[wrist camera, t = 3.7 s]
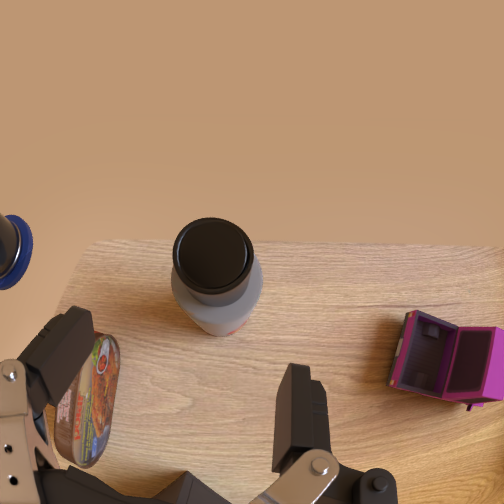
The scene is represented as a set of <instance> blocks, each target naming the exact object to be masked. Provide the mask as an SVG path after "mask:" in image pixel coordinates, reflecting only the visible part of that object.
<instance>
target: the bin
mask: <svg viewBox="0 0 504 504" xmlns="http://www.w3.org/2000/svg"><path fill="white" fill-rule="evenodd" d="M152 499H159V500H162V501H166V502H169V503H173V504H231V503H230V502H228V501H227V500H225V499H224V498H223V497H221V496H220V495H218V494H217V493H216V492H214V491H213V490H212V489H210V488H209V487H208V486H206V485H205V484H204V483H202V482H201V481H200V480H199V479H197V478H196V477H195V476H194V475H192V474H191V473H190V472H189V471H186V472H185V473H184V474H183V475H181V476H180V477H179V478H178V479H176V480H175V481H174V482H173V483H171V484H170V485H169V486H168V487H166V488H165V489H164V490H162V491H161V492H160V493H158V494H157V495H156V496H154V497H153V498H152Z"/></svg>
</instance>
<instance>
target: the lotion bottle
mask: <svg viewBox="0 0 504 504" xmlns="http://www.w3.org/2000/svg"><path fill="white" fill-rule="evenodd" d="M173 264H174V265H173V268H172V273H171V286H172V291H173V294H174V297H175V299H176V301H177V303H178V305H179V306H180V307H181V309H182V310H183V311H184V312H185V313H186V314H187V315H188V316H189V317H190V318H191V319H192V320H193V321H194V322H195V323H196V324H198V325H199V326H200V327H201V328H202V329H203V330H204V331H206V332H207V333H209V334H211V335H214V336H219V337H225V336H230V335H233V334H235V333H236V332H238V331H239V330H240V329H241V328H242V327H243V326H244V325H245V323H246V321H247V320H248V318H249V316H250V314H251V312H252V311H253V309H254V307H255V305H256V303H257V301H258V299H259V297H260V294H261V291H262V285H263V275H262V269H261V266H260V263H259V261H258V259H257V257H256V255H255V254H254V250H253V246H252V243H251V241H250V239H249V237H248V236H247V235H246V233H245V232H244V231H243V230H242V229H241V228H239V227H238V226H237V225H235V224H233V223H231V222H229V221H227V220H224V219H220V218H201V219H198V220H195V221H193V222H191V223H189V224H188V225H186V226H185V227H184V228H183V229H182V230H181V232H180V233H179V234H178V236H177V238H176V240H175V243H174V246H173Z"/></svg>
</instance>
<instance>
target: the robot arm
mask: <svg viewBox="0 0 504 504" xmlns="http://www.w3.org/2000/svg"><path fill="white" fill-rule="evenodd" d="M22 242H23V241H22V234H21V231H20V229H19V227H18V226H17V225H16V224H15V223H13V222H12V221H10V220H9V219H7V218H6V217H5V216H3V215H2V214H1V213H0V280H2V279H4V278H6V277H7V276H8V275H9V274H10V273H11V272H12V271H13V270H14V268H15V267H16V265H17V263H18V261H19V258H20V255H21V251H22ZM94 346H95V333H94V327H93V321H92V314H91V312H90V311H89V310H86V309H83V308H80V307H77V306H72V307H71V308H70V309H69V310H68V311H67V312H66V313H65V314H59V315H57V316H55V317H54V318H52V319H51V320H50V321H49V322H48V323H47V324H46V325H45V326H44V329H42V330H41V331H40V332H39V333H38V335H36V337H35V338H34V339H33V340H32V341H31V342H30V344H29V345H28V346H27V347H26V348H25V350H24V351H23V352H22V353H21V355H20V356H19V357H18V358H17V359H7V360H4V361H2V362H1V363H0V504H173V503H169V502H166V501H162V500H159V499H152V498H141V497H133V496H125V495H122V494H120V493H119V492H117V491H116V490H114V489H113V488H111V487H110V486H108V485H107V484H105V483H104V482H102V481H101V480H99V479H98V478H97V477H95V476H93V475H90V474H88V473H86V472H84V471H81V470H79V469H77V468H75V467H73V466H71V465H69V468H68V470H63V469H60V466H59V463H58V461H57V458H56V456H55V454H54V452H53V448H52V444H51V439H50V434H49V429H48V423H47V417H46V411H45V409H44V408H45V407H46V405H47V403H49V404H51V405H53V406H54V407H56V408H57V406H58V404H59V403H60V401H61V400H62V398H63V396H64V395H65V393H66V391H67V390H68V388H69V387H70V385H71V383H72V382H73V380H74V379H75V377H76V376H77V374H78V372H79V371H80V369H81V368H82V366H83V365H84V363H85V362H86V360H87V359H88V357H89V356H90V354H91V353H92V351H93V349H94ZM327 414H328V408H327V397H326V391H325V389H324V388H323V386H322V384H321V382H320V381H316V380H311V376H310V367H309V366H306V365H300V364H294V363H289V365H288V367H287V370H286V372H285V374H284V377H283V379H282V381H281V384H280V386H279V389H278V392H277V397H276V411H275V428H274V445H273V460H272V472H275V473H280V477H279V478H278V479H277V480H276V481H275V482H274V483H273V484H272V485H271V486H270V487H269V488H268V489H266V490H265V491H264V492H263V493H261V494H260V495H258V496H257V497H256V498H255V499H254V500H252V501H251V502H250V503H249V504H398V499H397V487H396V481H395V479H394V477H393V475H392V474H391V473H390V472H388V471H387V470H384V469H381V468H373V469H370V470H368V471H367V472H365V473H364V472H361V471H358V470H354V469H351V468H348V467H346V466H343V465H342V464H340V463H339V462H338V461H337V459H336V458H335V457H334V456H333V454H332V451H331V445H330V432H329V419H328V415H327Z"/></svg>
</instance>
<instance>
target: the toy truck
mask: <svg viewBox="0 0 504 504" xmlns="http://www.w3.org/2000/svg"><path fill="white" fill-rule="evenodd" d="M386 386H389V387H393V388H397V389H400V390H406V391H411V392H415V393H419V394H420V395H424V396H429V397H433V398H437V399H442V400H446V401H451V402H458V403H464V404H466V405H468V407H467V410H466V411H471V409H472V407H473V406H480V407H483V404H484V403H487V402H494V401H501V400H503V398H504V330H502V329H500V328H498V327H458V326H456V325H453V324H451V323H449V322H446V321H444V320H441V319H439V318H436V317H434V316H431V315H429V314H426V313H424V312H421V311H419V310H414V311H411V312H408V313H406V316H405V320H404V324H403V328H402V332H401V336H400V340H399V343H398V347H397V351H396V354H395V358H394V361H393V364H392V368H391V371H390V374H389V377H388V380H387V383H386Z"/></svg>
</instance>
